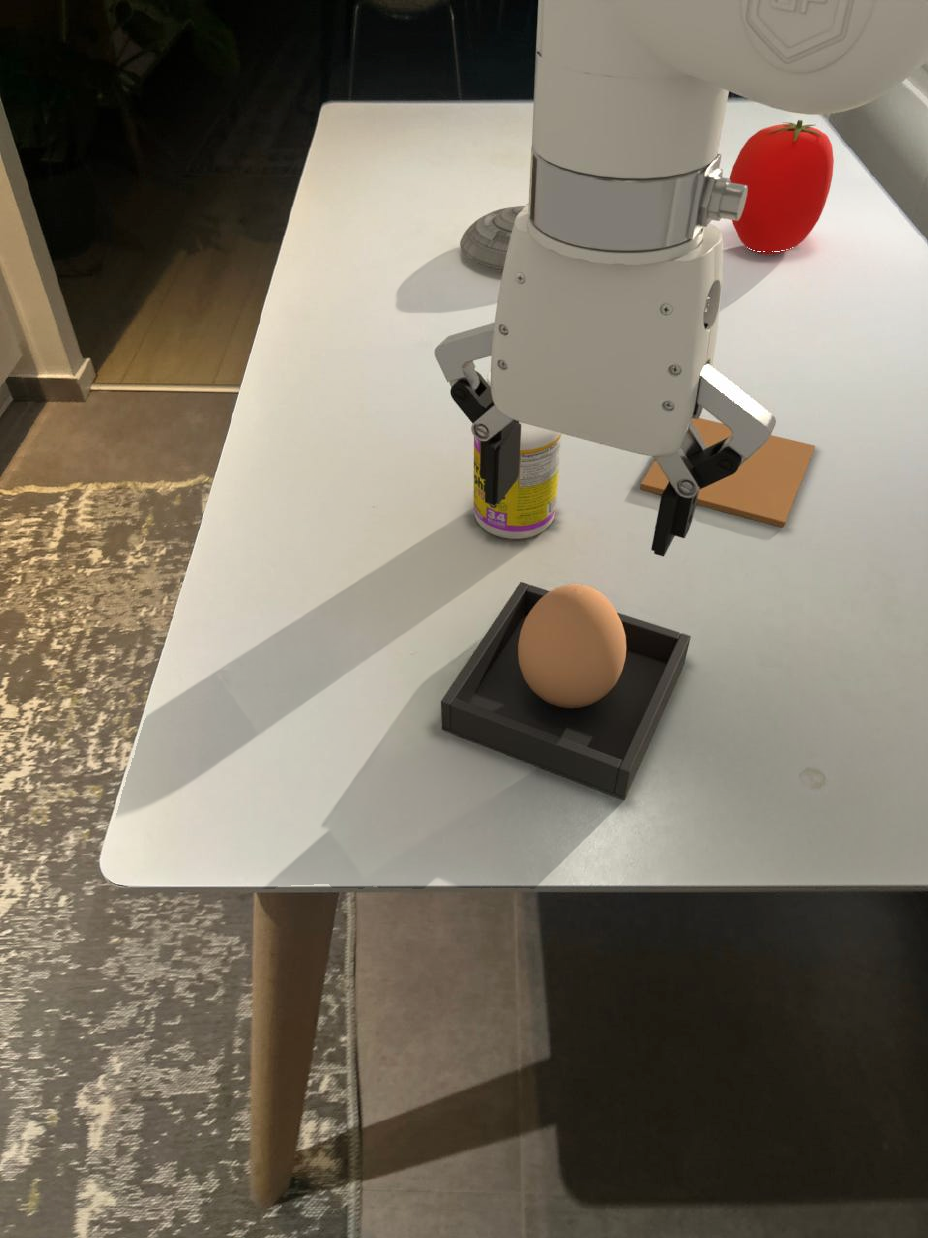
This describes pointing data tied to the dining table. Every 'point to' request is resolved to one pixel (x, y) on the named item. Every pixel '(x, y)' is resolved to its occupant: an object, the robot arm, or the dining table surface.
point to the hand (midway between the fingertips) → (581, 514)
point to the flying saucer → (490, 237)
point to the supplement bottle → (523, 487)
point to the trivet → (749, 477)
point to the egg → (572, 646)
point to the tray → (565, 737)
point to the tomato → (782, 185)
